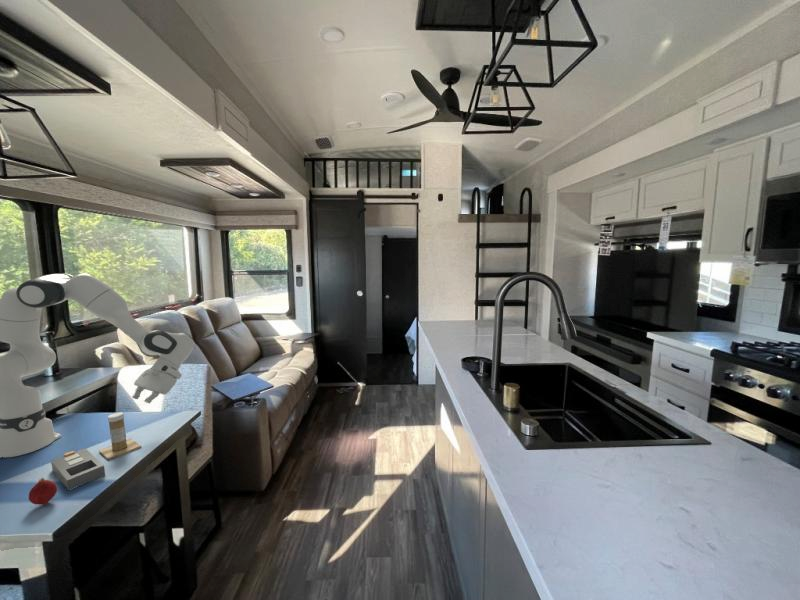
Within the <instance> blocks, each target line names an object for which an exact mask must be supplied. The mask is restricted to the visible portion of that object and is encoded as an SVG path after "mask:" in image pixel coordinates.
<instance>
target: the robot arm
mask: <svg viewBox="0 0 800 600" xmlns="http://www.w3.org/2000/svg"><path fill="white" fill-rule="evenodd" d="M67 300H69V301H70V300H71V301H74V302H76V303H78V304H79V305H81V306H82V307H83V308H85V309H86V310H87V311H89V312H90V313H92V314H94V315H95V316H97V317H98V318H100V319H102V320H104V321H106V322H108V323H109V324H111V325H113V326H114V327H116V328H117V329H118V330H120V331H121V332H123V333H124V334H125V335H127V336H128V337H129V338H131V340H132V341H134V342H135V343H136V344H137V346H138V349H139V351H140V353H142V354H143V355H144V356H145V357H150V358H155V357H158V359H157V360H156V361H155V362H154V363H153V365H152V366H151V367H150V368H148V369H145V370H144V371H143V372H142V373H141V374H140V375H139V376H138V377H137V378H136V380H135V381H134V382H133V385H134V386H135V387H137V388H135V391H134V394H133V395H132V396H131V397H132V399H134V400H138V399H139V398H140V397H141V394H142V392H144V391H145V390H147V391H150V392H151V394H150V395H149V396H147V397H146V398H145V399H144V403H147V404H151V403H152V401H153V400H155V399H156V398H157V397H158V396H159V395H163V396H164V395H165V396H166V395H167V394H168V393H169V392H170V391H171V390H172V389H173V388H174V386H175V385H176V383H177V381H178V380H180V379H181V377H182V375H183V374H182V373H181V372H180V371H179V370H180V368H181V365H182V364H183V362H185V361H186V360H187V359H188V357H189V356H190V355H191V353H192V351H193V350H194V348H195V345H196V344H195V340H194V339H193V338H192V337H191V336H190V335H188V334H186V333H185V332H179V333H177V332H176V333H175V332H174V333H173V332H168V331H165V330H161V329H160V330H159V329H157V330H151V331H150V330H148V329H147V328H146V327H145V326H143V325H142V324H141V323H139V322H138V321H137V320H136V319H135V318H134V317H133V316H132V314H131V312H130V311H129V308H128V305H127V302H126V300H125V299H124V297H122V296H121V294H120V293H118V292H117V291H116V290H115V289H114V288H112V287H111V286H110V285H108V284H107V283H105V282H104V281H102V280H101V279H98V278H97V277H95V276H93V275H91V274H89V273H80V274H76V275H72V274H70V273H65V272H63V273H61V272H60V273H59V272H58V273H52V274H44V275H42V276H38V277H35V278H30V279H28V280H26V281H24V282H22V283H21V284H20V285H18V286H17V287H11V288H9V289H7V290H6V289H5V291H3V292H2V295H1V297H0V342H2V343H6V344H9V347H10V348H9V350H7V351H4V352H0V458H2V457H3V458H13V457H18V456H22V455H26V454H29V453H33V452H35V451H38V450H41V449H43V448H45V447H46V446H49V445H50V444H51V443H53V442H54V441H56V440H59V439H60V438H61V437H62V435H61V433H58V432H55V429H54V424H53V421H52V419H50V418H47V417H46V410H45V407H43V402H42V397H41V391H40V390H39V389H38V388H37V387H34V386H29V385H25V384H24V383H23V381H22V378H24V377H27V376H31V375H32V376H33V375H35V374H38V373H41V372H43V371H45V370H47V369H49V368H51V367H53V366H54V364H56V361H57V355H56V352H55V351H54V349H52V347H50V346H48V345H45V344H44V343H43V341H42V340H41V335H40V331H41V330H40V328H41V318H42V317H41V316H42V311H43V308H47V307H48V308H49V307H50V306H55V305H57V304H62V303H63V302H65V301H67Z"/></svg>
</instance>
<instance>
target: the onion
mask: <svg viewBox="0 0 800 600" xmlns="http://www.w3.org/2000/svg"><path fill="white" fill-rule="evenodd" d="M57 493H58V486H57V484H56V483H55V482H54V481H52V480H47V479H45V478H44V477H41V478H39V479H38V482H37V483H35V485H33V486H32V488H31V489H30V491H29V493H28V500H29V502H30V503H32V504H34V505H36V506H37V505H39V506H40V505H41V506H45V505H46V504H48V503H49V502H51V500H53V498H54V497H55V496H56V494H57Z"/></svg>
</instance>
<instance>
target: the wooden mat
mask: <svg viewBox="0 0 800 600" xmlns="http://www.w3.org/2000/svg"><path fill="white" fill-rule="evenodd" d="M126 442H127V447H125V448H124V449H121V450H117V451H113V450H112V445H110V446H108V447H104V448H102V449H99V450H98V452H99V454H100V455H101V454H102V455H101V456H102V457H104V458H105V460H107V461H111V460H114V459H116V458H118V457H121V456H123V455H126V454H129V453H131V452H134V451H136V450H139V449H141V448H142V445H141V444H140V443H138V442H137V441H135V439H132V438H129V439H126Z"/></svg>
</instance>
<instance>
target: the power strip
mask: <svg viewBox="0 0 800 600" xmlns="http://www.w3.org/2000/svg"><path fill="white" fill-rule="evenodd" d="M50 464H51V469H52V472H53V473H54V472H55V473H56V474H55V473H54V474H55V475H56V477H57V478H58V477H59V478H60V479H59V478H58V479H59V480H60V482H61V481H62V482H63V483H64V484H63V483H62V482H61V483H62V484H63V485H64V487H65V486H66V487H67V488H66V487H65V488H66V490H67V491H68V490H69V491H71V490H70V489H72V488H74V487H76V486H79V485H81V484H83V485H85V484H84V483H86V482H88V483H90V482H93V481H95V480H97V479H99V477H100V478H103V477H104V476H106V471H105V464H103V463H102V462H101V461H100V460H98V458H97V457H96V456H95V455H93V454H92V453H91V451H90V450H88V449H87V448H82V449H79V450H76V451H74V450H72V451H68V452H66V453H63V456H60V457H56V458H54V459H52V460H50ZM96 478H97V479H96ZM94 479H95V480H94ZM92 480H93V481H92ZM89 481H90V482H89ZM86 484H87V483H86ZM81 486H82V485H81ZM79 487H80V486H79ZM76 488H77V487H76ZM74 489H75V488H74ZM72 490H73V489H72Z"/></svg>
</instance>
